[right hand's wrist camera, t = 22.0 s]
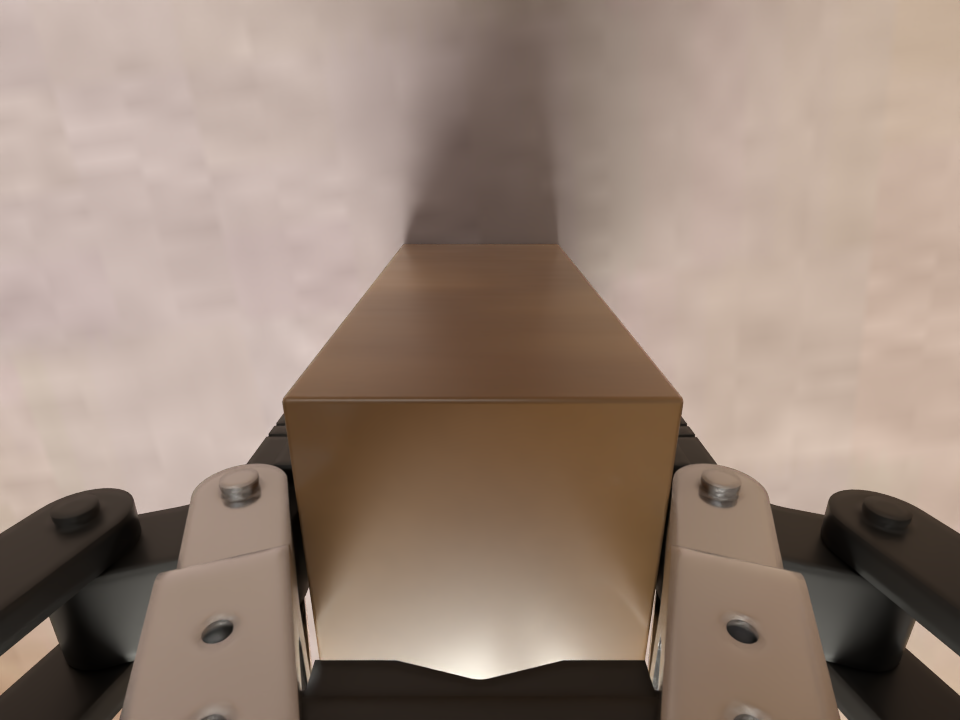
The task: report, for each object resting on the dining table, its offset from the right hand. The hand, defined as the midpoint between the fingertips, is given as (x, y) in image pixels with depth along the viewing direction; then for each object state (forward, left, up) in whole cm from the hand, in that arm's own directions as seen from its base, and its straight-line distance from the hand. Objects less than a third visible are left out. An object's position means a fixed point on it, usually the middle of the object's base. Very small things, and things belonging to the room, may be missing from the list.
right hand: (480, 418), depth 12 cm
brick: (0, 0, -7) cm, 7 cm away
